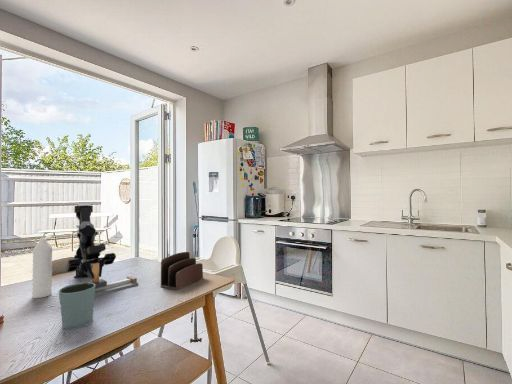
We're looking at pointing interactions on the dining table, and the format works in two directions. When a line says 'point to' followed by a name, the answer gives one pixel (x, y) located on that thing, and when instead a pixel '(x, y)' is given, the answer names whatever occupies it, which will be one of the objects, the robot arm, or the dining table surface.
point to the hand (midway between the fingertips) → (96, 277)
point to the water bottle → (42, 269)
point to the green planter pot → (77, 305)
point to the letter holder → (180, 271)
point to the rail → (116, 286)
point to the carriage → (97, 277)
